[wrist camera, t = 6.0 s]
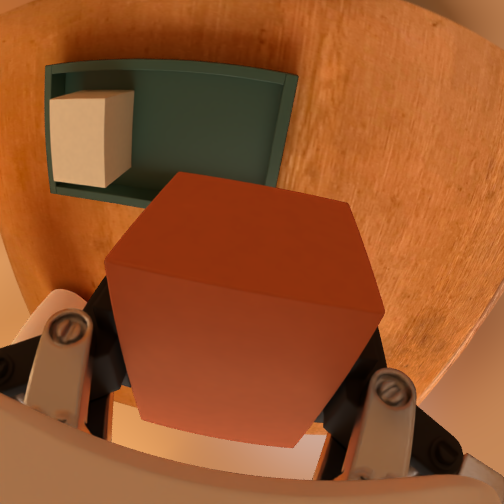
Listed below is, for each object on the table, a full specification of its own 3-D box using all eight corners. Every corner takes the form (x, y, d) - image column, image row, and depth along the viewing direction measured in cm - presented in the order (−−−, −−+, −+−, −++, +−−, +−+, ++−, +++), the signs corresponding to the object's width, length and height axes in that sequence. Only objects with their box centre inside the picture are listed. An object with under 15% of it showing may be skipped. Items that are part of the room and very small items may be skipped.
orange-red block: (349, 202, 9) (387, 312, 5) (296, 347, 12) (293, 449, 9) (178, 170, 9) (102, 258, 5) (175, 324, 12) (140, 420, 9)
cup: (51, 269, 33) (-14, 354, 21) (108, 298, 34) (52, 397, 22) (53, 312, 37) (4, 389, 26) (104, 338, 38) (61, 424, 27)
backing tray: (297, 75, 20) (298, 75, 17) (268, 215, 26) (266, 231, 24) (63, 62, 20) (45, 65, 17) (65, 182, 26) (50, 193, 24)
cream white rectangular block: (134, 90, 20) (105, 97, 17) (131, 167, 24) (105, 188, 20) (83, 90, 20) (49, 99, 17) (83, 161, 24) (53, 181, 20)
